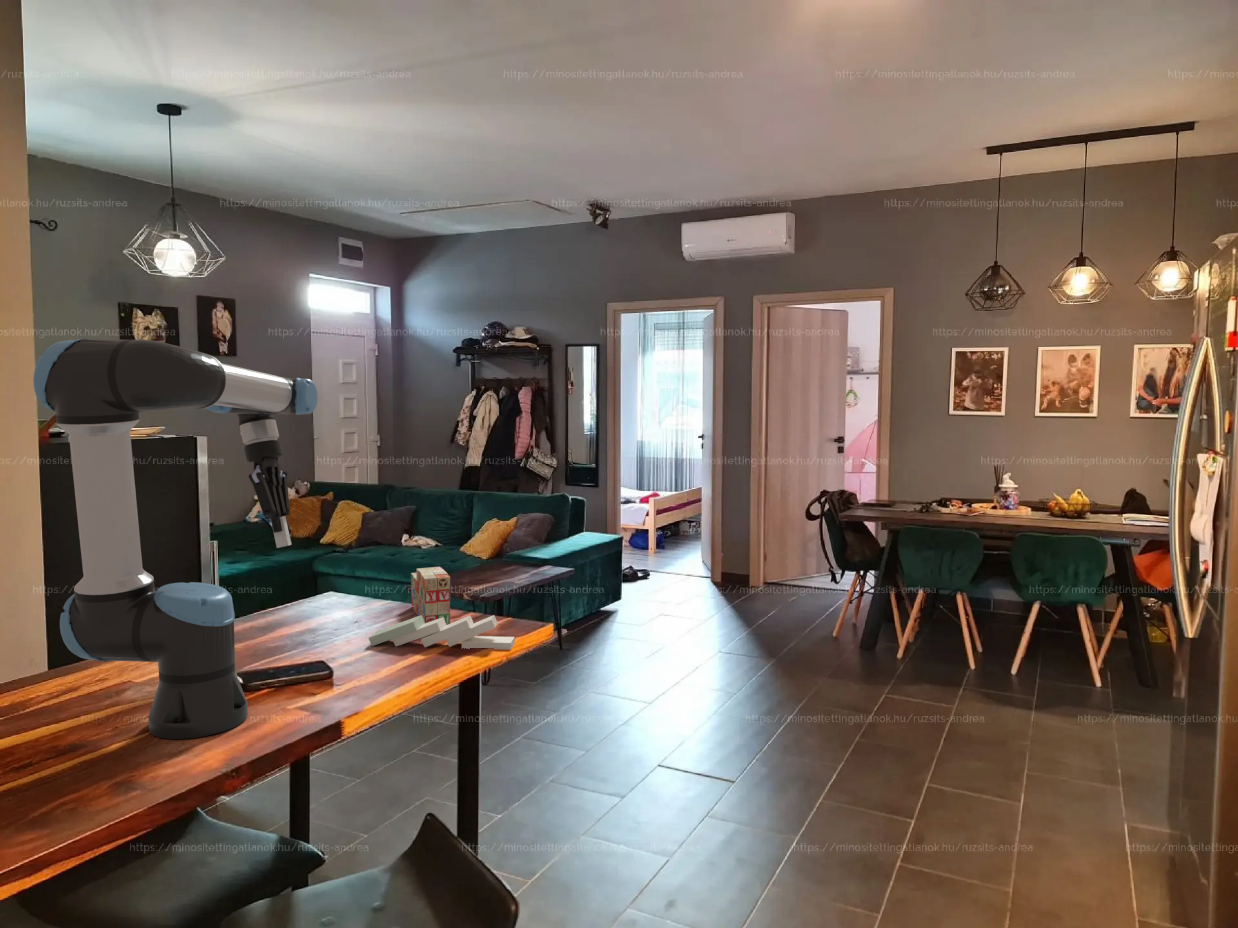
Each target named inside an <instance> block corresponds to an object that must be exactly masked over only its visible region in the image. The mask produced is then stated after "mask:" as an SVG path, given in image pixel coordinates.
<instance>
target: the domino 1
mask: <svg viewBox="0 0 1238 928" xmlns="http://www.w3.org/2000/svg"><path fill="white" fill-rule="evenodd" d="M445 626H446V623H445V620H444V617H442V618H439V619H437V620H434V621H431V622H428V623H425V624H423V625H422V626H421V627H420V628H419V629H417V630H416V631H413V632H410V633H407V634H405V635H402V636H399V637H396V638H393V639H392V641H393V644H394V646H395V647H398V646H402V645H404V644H406V643H410V642H413V641H415V640H418V639H419V640H420V639H422V638H423V637H424V636H427V635H430V634H433V633H436V632H439V631H441V630H442V629H443V628H444V627H445Z"/></svg>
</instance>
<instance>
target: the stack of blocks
mask: <svg viewBox="0 0 1238 928" xmlns="http://www.w3.org/2000/svg"><path fill="white" fill-rule="evenodd" d="M410 584H411V607H412V606H414V607H412V609H413V611H414V612H415V614H416V616H420V615H422V617H423V619H424V622H425V623H428V622H431V621H434V620H437V619H439V618H442V617H444V620H445V623H446V625H448V624H451V576H450V575H449V574H448V572H447V571H445V569H443V567H441V566H433V567H432V566H431V567H421V568H420V567H419V568H416V571H415V572H411V573H410ZM425 623H424V624H425Z"/></svg>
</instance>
